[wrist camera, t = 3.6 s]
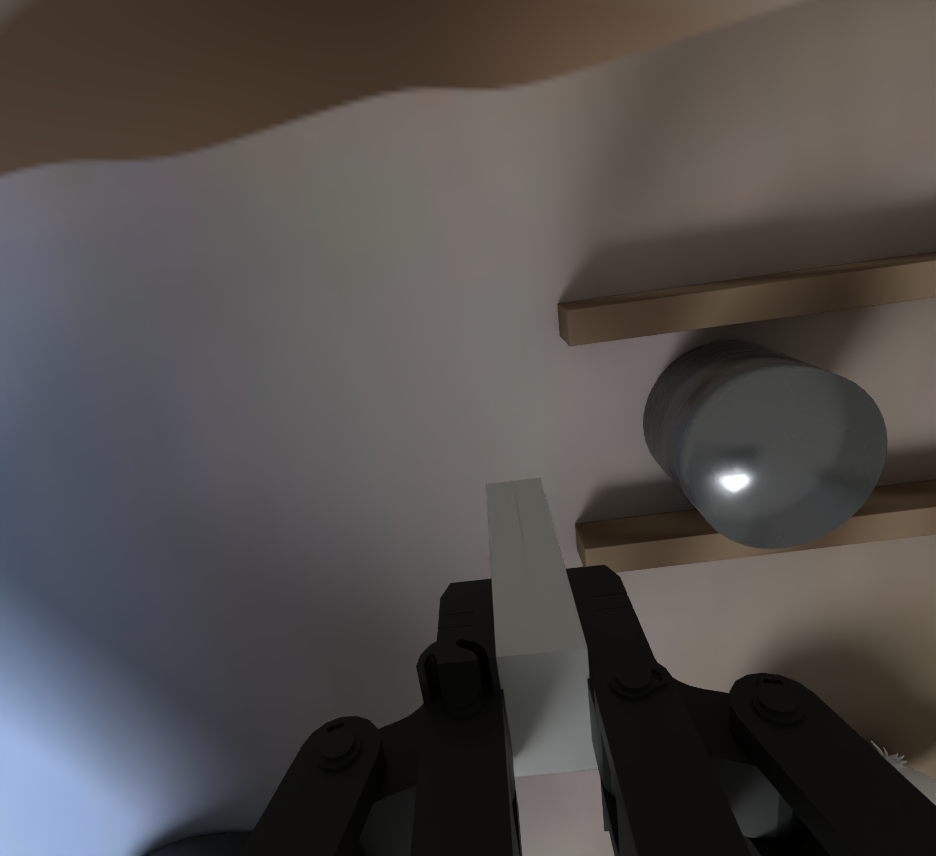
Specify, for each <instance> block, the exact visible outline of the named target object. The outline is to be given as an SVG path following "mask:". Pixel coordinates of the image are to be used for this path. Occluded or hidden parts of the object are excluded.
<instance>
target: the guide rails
mask: <svg viewBox="0 0 936 856" xmlns="http://www.w3.org/2000/svg"><path fill="white" fill-rule="evenodd" d="M933 297H936V252H932V253H924V254H917V255H910V256H902V257H895V258H888V259H880V260H873V261H866V262H859V263H851V264H844V265H837V266H829V267H822V268H815V269H807V270H800V271H793V272H786V273H778V274H771V275H764V276H756V277H749V278H742V279H734V280H727V281H720V282H713V283H705V284H698V285H691V286H683V287H676V288H669V289H662V290H654V291H647V292H640V293H632V294H625V295H618V296H610V297H603V298H596V299H589V300H581V301H574V302H567V303H559V304H557V306H558V318H559V331H560V337H561V338H562V339H563V340H564V341H565V342H566V343H567V344H568V345H569V346H575V345H582V344H590V343H597V342H605V341H612V340H620V339H627V338H635V337H642V336H650V335H657V334H664V333H672V332H679V331H687V330H694V329H702V328H709V327H717V326H724V325H732V324H739V323H746V322H754V321H761V320H769V319H776V318H784V317H791V316H799V315H806V314H813V313H821V312H828V311H836V310H843V309H851V308H858V307H866V306H873V305H881V304H888V303H895V302H903V301H910V300H918V299H925V298H933ZM575 529H576V542H577V550H578V553H579V556H580V558H581V561H582V564H583V567H587V566H596V565H606V566H607V567H609V568H610V569H611V570H612V571H613V572H623V571H632V570H640V569H649V568H657V567H665V566H674V565H682V564H690V563H699V562H707V561H716V560H724V559H732V558H741V557H749V556H757V555H766V554H774V553H782V552H791V551H799V550H808V549H816V548H824V547H833V546H841V545H849V544H858V543H866V542H875V541H883V540H891V539H900V538H908V537H916V536H925V535H933V534H936V480H931V481H923V482H915V483H906V484H898V485H890V486H882V487H875V488H874V490H873V491H872V493H871V495H870V496H869V498H868V499H867V500H866V502H865V503H864V504H863V505H862V507H861V508H860V509H859V510H858V511H857V512H856V513H855V514H854V515H853V516H852V517H851V518H849V519H848V520H847V521H846V522H845V523H843V524H842V525H841V526H839V527H838V528H836V529H835V530H833V531H832V532H830V533H828V534H826V535H824V536H822V537H821V538H818V539H816V540H813V541H811V542H808V543H805V544H802V545H798V546H794V547H788V548H781V549H760V548H754V547H749V546H745V545H742V544H739V543H736V542H734V541H732V540H730V539H728V538H726V537H725V536H723V535H722V534H720V533H719V532H718V531H716V530H715V529H714V528H713V527H712V526H711V525H710V524H709V523H708V522H707V520H706V519H705V518H704V517H703V516H702V515H701V513H700V512H699V511H698V510H697V509H695V510H687V511H678V512H670V513H662V514H654V515H646V516H638V517H630V518H621V519H613V520H605V521H597V522H589V523H581V524H575Z"/></svg>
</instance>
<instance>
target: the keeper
mask: <svg viewBox="0 0 936 856" xmlns="http://www.w3.org/2000/svg"><path fill="white" fill-rule="evenodd" d="M643 428H644V436H645V440H646V444H647V446H648V448H649V451H650V453H651V454H652V456H653V458H654V459H655V460H656V462H657V463H658V464H659V465H660V466H661V468H662V469H663V470H664V471H665V472H666V473H667V475H668V476H669V477H670V478H671V479H672V480H673V482H674V483H675V484H676V485H677V486H678V488H679V489H680V490H681V491H682V492H683V493H684V495H685V496H686V497H687V498H688V499H689V500H690V502H691V503H692V504H693V505H694V506H695V507H696V509H697V510H698V511H699V512H700V513H701V515H702V516H703V517H704V518H705V519H706V520H707V522H708V523H709V524H710V525H711V526H712V527H713V528H714V529H715V530H716V531H718V532H719V533H720V534H722V535H723V536H725V537H726V538H728V539H730V540H732V541H734V542H736V543H739V544H742V545H745V546H749V547H754V548H760V549H781V548H788V547H794V546H798V545H802V544H805V543H808V542H811V541H813V540H816V539H818V538H821V537H822V536H824V535H826V534H828V533H830V532H832V531H833V530H835V529H836V528H838V527H839V526H841V525H842V524H843V523H845V522H846V521H847V520H848V519H849V518H851V517H852V516H853V515H854V514H855V513H856V512H857V511H858V510H859V509H860V508H861V507H862V505H863V504H864V503H865V502H866V500H867V499H868V498H869V496H870V495H871V493H872V491H873V490H874V488H875V487H876V485H877V482H878V480H879V478H880V476H881V473H882V470H883V467H884V464H885V459H886V454H887V432H886V427H885V423H884V419H883V417H882V414H881V412H880V410H879V408H878V406H877V405H876V403H875V402H874V400H873V399H872V398H871V397H870V396H869V395H868V393H867V392H866V391H865V390H863V389H862V388H861V387H859V386H858V385H857V384H856V383H854V382H852V381H850V380H848V379H846V378H844V377H842V376H839V375H836V374H834V373H831V372H828V371H826V370H823V369H820V368H818V367H815V366H812V365H810V364H807V363H804V362H802V361H799V360H796V359H794V358H791V357H788V356H786V355H783V354H780V353H778V352H775V351H772V350H770V349H767V348H765V347H762V346H759V345H756V344H754V343H750V342H746V341H739V340H723V341H716V342H711V343H708V344H705V345H702V346H699V347H697V348H695V349H692V350H690V351H689V352H687V353H685V354H684V355H682V356H681V357H679V358H678V359H677V360H675V361H674V362H673V363H672V364H671V365H670V366H669V367H668V368H667V369H666V370H665V371H664V372H663V373H662V374H661V376H660V377H659V378H658V380H657V381H656V383H655V384H654V386H653V388H652V390H651V392H650V394H649V396H648V399H647V402H646V406H645V411H644V418H643Z"/></svg>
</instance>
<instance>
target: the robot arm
mask: <svg viewBox="0 0 936 856" xmlns="http://www.w3.org/2000/svg"><path fill="white" fill-rule="evenodd" d="M486 493H487V510H488V527H489V544H490V561H491V578H492V579H484V580H475V581H466V582H457V583H450V585H449V586H448V588H447V589H446V591H445V592H444V594H443V595H442V597H441V598H440V609H439V621H438V633H437V641H436V642H435V643H433V644H431V645H429V647H428V648H427V649H426V650H425V651H424V652H423V653H422V654H421V655H420V658H419V660H418V663H417V666H416V667H417V672H418V677H419V682H420V687H421V692H422V696H423V701H424V703H423V705H422V706H421V707H420V708H419V709H418V710H416V711H415V712H414V713H412V714H411V715H410V716H408V717H406V718H404V719H402V720H400V721H398V722H395V723H393V724H390V725H387V726H385V727H382V728H380V729H378V728H377V727H376V726H375V725H374V724H373V723H372V722H371V721H370V720H368V719H364V718H361V717H358V716H349V717H340V718H338V719H335V720H333V721H330V722H327V723H326V724H324V725H323V726H321V727H320V728H319V729H317V730H316V731H314V732H313V733H312V734H311V736H310V737H309V738H308V739H307V741H306V742H305V743H304V744H303V746H302V747H301V749H300V751H299V752H298V754H297V756H296V758H295V759H294V761H293V763H292V764H291V766H290V768H289V770H288V771H287V773H286V775H285V776H284V778H283V780H282V782H281V783H280V785H279V787H278V789H277V790H276V792H275V794H274V795H273V797H272V799H271V801H270V802H269V804H268V806H267V808H266V809H265V811H264V813H263V814H262V816H261V818H260V820H259V821H258V823H257V825H256V826H255V828H254V830H253V832H252V833H251V834H235V833H234V834H214V835H206V836H200V837H195V838H190V839H186V840H183V841H180V842H176V843H173V844H171V845H168V846H166V847H164V848H162V849H159V850H157V851H156V852H154V853H152V854H150V855H149V856H522V847H521V835H520V823H519V811H518V803H517V796H516V789H515V779H514V777H522V776H532V775H543V774H554V773H565V772H575V771H586V770H597V767H596V761H597V765H598V769H599V773H600V778H601V792H602V805H603V818H604V831H609V833H610V837H611V842H612V846H613V850H614V855H615V856H936V805H935V804H934V803H932V802H931V801H930V800H929V799H928V798H927V797H926V796H925V795H924V794H923V793H922V792H921V791H919V790H918V789H917V788H916V787H915V786H914V785H913V784H912V783H911V782H910V781H909V780H908V779H906V778H905V777H904V776H903V775H902V774H901V773H900V772H899V771H898V770H897V769H896V768H895V767H893V766H892V765H891V764H890V763H889V762H888V761H887V760H886V759H885V758H884V757H883V756H882V755H880V754H879V753H878V752H877V751H876V750H875V749H874V748H873V747H872V746H871V745H870V744H869V743H867V742H866V741H865V740H864V739H863V738H862V737H861V736H860V735H859V734H858V733H857V732H856V731H854V730H853V729H852V728H851V727H850V726H849V725H848V724H847V723H846V722H845V721H844V720H843V719H841V718H840V717H839V716H838V715H837V714H836V713H835V712H834V711H833V710H832V709H831V708H830V707H828V706H827V705H826V704H825V703H824V702H823V701H822V700H821V699H820V698H819V697H818V696H817V695H815V694H814V693H813V692H812V691H810V690H809V689H807V688H806V687H804V686H803V685H802V684H800V683H799V682H796V681H794V680H791V679H789V678H786V677H784V676H781V675H775V674H768V673H757V674H750V675H746V676H744V677H742V678H741V679H739V680H737V681H735V683H734V685H733V686H732V688H731V690H730V692H729V693H725V692H719V691H712V690H706V689H701V688H697V687H693V686H689V685H687V684H684V683H682V682H680V681H678V680H676V679H674V678H673V677H672V676H671V675H670V673H669V672H668V671H667V669H666V668H665V667H663V666H662V665H660V664H659V663H657V661H656V659H655V658H654V656H653V653H652V651H651V649H650V646H649V644H648V641H647V639H646V637H645V634H644V632H643V630H642V627H641V625H640V623H639V620H638V618H637V616H636V613H635V611H634V609H633V607H632V604H631V602H630V599H629V597H628V596H627V592H626V590H625V587H624V585H623V583H622V580H621V578H620V577H619V576H618V575H617V574H616V573H615V572H613V571H612V570H611V569H610V568H609V567H607V566H606V565H596V566H587V567H578V568H569V569H565V565H564V562H563V558H562V554H561V551H560V547H559V544H558V540H557V536H556V533H555V529H554V526H553V522H552V518H551V515H550V511H549V507H548V504H547V500H546V497H545V493H544V489H543V486H542V482H541V478H535V479H527V480H519V481H510V482H502V483H493V484H486Z"/></svg>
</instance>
